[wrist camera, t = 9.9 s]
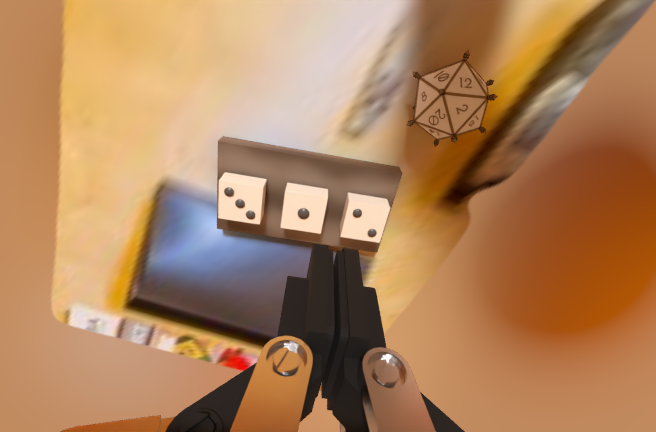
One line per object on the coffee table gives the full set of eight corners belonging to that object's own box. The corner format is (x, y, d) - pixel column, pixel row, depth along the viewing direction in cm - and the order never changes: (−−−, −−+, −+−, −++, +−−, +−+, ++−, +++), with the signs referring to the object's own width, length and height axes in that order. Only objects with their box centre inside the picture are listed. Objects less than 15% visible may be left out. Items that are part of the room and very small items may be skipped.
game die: (432, 107, 41) (438, 176, 37) (388, 69, 36) (389, 144, 32) (505, 64, 34) (522, 142, 30) (464, 11, 29) (478, 95, 25)
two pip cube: (347, 192, 40) (349, 202, 37) (386, 198, 40) (390, 208, 38) (339, 226, 42) (340, 237, 40) (376, 232, 43) (379, 243, 40)
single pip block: (287, 182, 39) (284, 191, 37) (328, 189, 40) (327, 198, 37) (282, 217, 41) (280, 228, 39) (321, 223, 42) (320, 234, 40)
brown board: (222, 136, 39) (218, 141, 37) (398, 167, 41) (402, 173, 39) (221, 220, 45) (217, 228, 43) (375, 244, 46) (377, 252, 45)
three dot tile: (225, 172, 38) (218, 180, 36) (266, 179, 39) (263, 188, 37) (224, 208, 41) (217, 218, 39) (263, 214, 41) (259, 225, 39)
